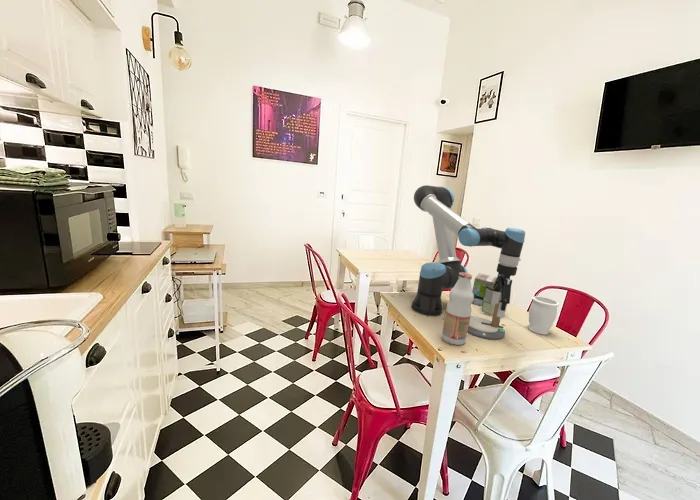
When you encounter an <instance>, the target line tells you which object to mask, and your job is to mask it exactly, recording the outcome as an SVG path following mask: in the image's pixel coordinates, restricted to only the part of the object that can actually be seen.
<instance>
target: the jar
mask: <svg viewBox="0 0 700 500" xmlns="http://www.w3.org/2000/svg"><path fill="white" fill-rule="evenodd" d="M559 305H560V303H559V302H558V301H556V300H554V299H551V298H548V297H543V296H538V295H536V296H532V302H531V304H530V307H529V311H528V322H529V323H528V324H529V325H528V326H527V328H528V329H529V330H530V331H531V332H533V333H536V334H540V335H544V336H546V335H549V334H550V331H549V330H550V329H551V328H552V326H553V325H554V322H555V320H556V319H557V318H556V317H557V315H558V314H557V313H558V307H559Z"/></svg>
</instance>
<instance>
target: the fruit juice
mask: <svg viewBox="0 0 700 500" xmlns="http://www.w3.org/2000/svg"><path fill="white" fill-rule="evenodd" d="M458 277H459V279H458V281H457V282H456V284H455V286H454V287H453V288H450V292H449V294H448V295H449V301H448V303H447V305H446V309H445V315H444V320H443V325H442V331H441V339H442V340H443V341H445V342H446V343H448V342H449V343H448V344H451V345H454V344H455V345H456V346H462V345H464V344H465V343H466V341H467V336H468V333H467V332H468V327H469V322H470V317H472V311H473V310H472V308H473V307H472V305H473V303H472V302H473V299H474V294H473V292H472V290H473V287H472V282H471V280H472V278H473V274H471V273H469V272H467V273H463V272H461V273H459V275H458Z"/></svg>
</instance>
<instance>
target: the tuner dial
mask: <svg viewBox="0 0 700 500" xmlns="http://www.w3.org/2000/svg"><path fill="white" fill-rule="evenodd" d="M498 308H499V304H497V303H496V304H495V308H494V312H493V316H491V317H492V319H491V320H490V319H487V318H484V317H479V316H471V317H470V322H469V327H470V328H472V329H474V330H476V331H480V332H484V333H496V332H497V331H498V328H499V327H500V328H503V329H504V326H503V325H500V322H501V318H502V317H497V312H498Z"/></svg>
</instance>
